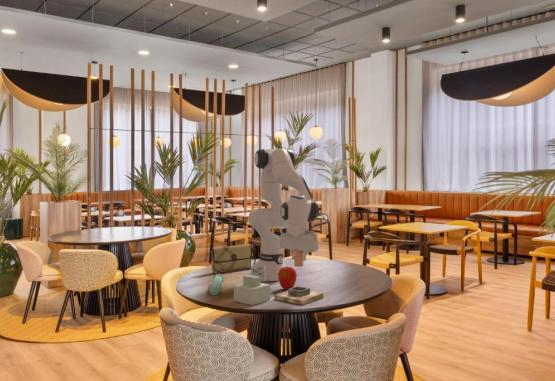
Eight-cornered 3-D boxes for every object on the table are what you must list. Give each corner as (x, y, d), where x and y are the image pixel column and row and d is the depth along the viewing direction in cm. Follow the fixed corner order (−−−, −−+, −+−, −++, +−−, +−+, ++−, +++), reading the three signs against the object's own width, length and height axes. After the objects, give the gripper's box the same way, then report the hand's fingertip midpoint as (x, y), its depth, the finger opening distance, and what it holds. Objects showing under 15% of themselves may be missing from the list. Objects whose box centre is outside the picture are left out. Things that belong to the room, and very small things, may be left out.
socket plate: (274, 299, 216) (274, 289, 216) (296, 292, 229) (296, 283, 229) (302, 305, 206) (302, 294, 206) (323, 297, 218) (323, 287, 218)
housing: (233, 300, 214) (233, 276, 214) (251, 295, 223) (251, 272, 223) (252, 305, 207) (252, 280, 206) (269, 299, 216) (269, 275, 215)
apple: (274, 289, 235) (274, 265, 234) (287, 286, 241) (286, 263, 241) (287, 292, 228) (287, 268, 228) (300, 289, 235) (300, 265, 234)
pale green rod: (217, 283, 224) (220, 271, 249) (205, 288, 224) (210, 276, 248) (222, 294, 224) (225, 282, 249) (210, 299, 224) (215, 286, 249)
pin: (292, 265, 216) (292, 248, 216) (298, 264, 220) (297, 247, 219) (299, 266, 214) (299, 249, 214) (304, 265, 217) (304, 248, 217)
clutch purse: (214, 275, 271) (214, 249, 270) (209, 273, 277) (208, 247, 276) (258, 269, 288) (258, 244, 287) (252, 267, 293) (252, 243, 293)
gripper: (321, 230, 212) (321, 261, 212) (285, 228, 225) (286, 256, 226) (312, 232, 207) (313, 263, 208) (277, 229, 220) (277, 258, 221)
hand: (298, 259), depth 217 cm, fingers closed on pin, 4 cm apart
